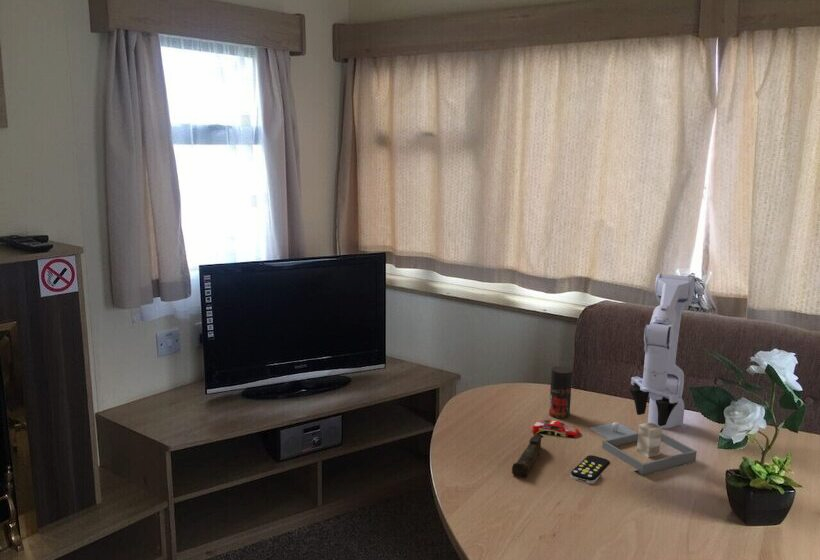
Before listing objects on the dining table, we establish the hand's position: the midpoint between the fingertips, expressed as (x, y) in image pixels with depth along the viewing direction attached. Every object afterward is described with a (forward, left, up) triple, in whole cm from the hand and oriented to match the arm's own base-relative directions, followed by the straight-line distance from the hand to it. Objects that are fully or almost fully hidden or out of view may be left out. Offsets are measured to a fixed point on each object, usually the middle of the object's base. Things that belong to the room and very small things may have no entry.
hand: (651, 419), depth 189 cm
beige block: (0, 0, -10) cm, 10 cm away
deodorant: (+6, -30, -11) cm, 32 cm away
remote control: (+19, 0, -11) cm, 22 cm away
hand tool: (+30, -11, -11) cm, 34 cm away
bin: (0, 0, -10) cm, 10 cm away
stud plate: (-1, -14, -10) cm, 17 cm away
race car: (+14, -21, -11) cm, 27 cm away
